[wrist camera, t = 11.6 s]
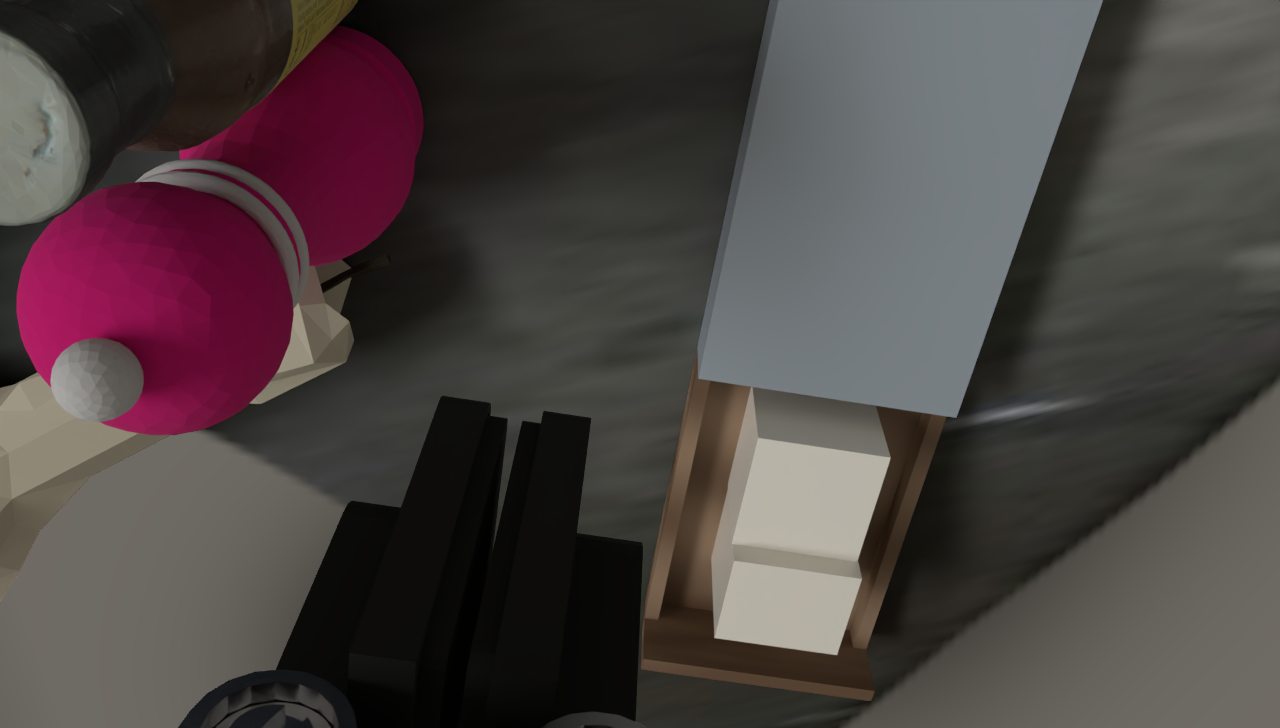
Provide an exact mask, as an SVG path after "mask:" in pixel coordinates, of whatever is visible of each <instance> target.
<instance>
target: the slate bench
mask: <svg viewBox="0 0 1280 728" xmlns="http://www.w3.org/2000/svg"><path fill="white" fill-rule="evenodd" d="M1102 2H1103V0H770V1H769V6H768V11H767V16H766V20H765V25H764V30H763V35H762V40H761V44H760V49H759V54H758V59H757V64H756V68H755V73H754V78H753V83H752V88H751V92H750V97H749V102H748V107H747V112H746V116H745V121H744V126H743V131H742V136H741V140H740V145H739V150H738V155H737V160H736V164H735V169H734V174H733V179H732V184H731V188H730V193H729V198H728V203H727V208H726V212H725V217H724V222H723V227H722V232H721V236H720V241H719V246H718V251H717V255H716V260H715V265H714V270H713V275H712V279H711V284H710V289H709V294H708V299H707V303H706V308H705V313H704V318H703V323H702V327H701V332H700V337H699V342H698V347H697V350H698V379H704V380H710V381H717V382H723V383H730V384H737V385H743V386H750V387H756V388H763V389H770V390H776V391H783V392H789V393H796V394H802V395H809V396H816V397H822V398H829V399H835V400H842V401H849V402H855V403H862V404H868V405H875V406H881V407H888V408H895V409H901V410H908V411H914V412H921V413H928V414H934V415H941V416H947V417H954V418H957V415H958V412H959V409H960V406H961V404H962V401H963V398H964V395H965V392H966V389H967V386H968V384H969V381H970V378H971V375H972V372H973V369H974V366H975V364H976V361H977V358H978V355H979V352H980V349H981V347H982V344H983V341H984V338H985V335H986V332H987V329H988V327H989V324H990V321H991V318H992V315H993V312H994V310H995V307H996V304H997V301H998V298H999V295H1000V292H1001V290H1002V287H1003V284H1004V281H1005V278H1006V275H1007V273H1008V270H1009V267H1010V264H1011V261H1012V258H1013V255H1014V253H1015V250H1016V247H1017V244H1018V241H1019V238H1020V236H1021V233H1022V230H1023V227H1024V224H1025V221H1026V218H1027V216H1028V213H1029V210H1030V207H1031V204H1032V201H1033V199H1034V196H1035V193H1036V190H1037V187H1038V184H1039V181H1040V179H1041V176H1042V173H1043V170H1044V167H1045V164H1046V161H1047V159H1048V156H1049V153H1050V150H1051V147H1052V144H1053V142H1054V139H1055V136H1056V133H1057V130H1058V127H1059V124H1060V122H1061V119H1062V116H1063V113H1064V110H1065V107H1066V105H1067V102H1068V99H1069V96H1070V93H1071V90H1072V87H1073V85H1074V82H1075V79H1076V76H1077V73H1078V70H1079V68H1080V65H1081V62H1082V59H1083V56H1084V53H1085V50H1086V48H1087V45H1088V42H1089V39H1090V36H1091V33H1092V31H1093V28H1094V25H1095V22H1096V19H1097V16H1098V13H1099V11H1100V8H1101V5H1102Z"/></svg>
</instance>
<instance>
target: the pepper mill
mask: <svg viewBox="0 0 1280 728" xmlns="http://www.w3.org/2000/svg"><path fill="white" fill-rule="evenodd" d="M423 127H424V121H423V110H422V104H421V100H420V97H419V93H418V90H417V88H416V85H415V83H414V81H413V79H412V77H411V76H410V74H409V72H408V71H407V70H406V68H405V67H404V66H403V64H402V63H401V62H400V60H399V59H398V58H397V57H396V56H395V55H394V54H393V53H392V52H391V51H390V50H389V49H388V48H386V47H385V46H384V45H383V44H381V43H380V42H378V41H377V40H375V39H373V38H372V37H370V36H368V35H366V34H364V33H362V32H359V31H357V30H354V29H351V28H347V27H343V26H338V25H337V26H336V27H335V28H334V29H333V30H332V31H331V32H330V33H329V34H328V35H327V36H326V37H325V38H324V39H322V40H321V41H320V42H319V43H318V44H317V45H316V46H315V48H314V49H313V50H312V51H311V52H310V53H309V54H308V55H307V56H306V57H305V58H304V59H303V60H302V61H301V62H300V63H299V64H298V65H297V66H296V67H295V68H294V69H293V70H292V71H291V72H290V73H289V74H288V75H287V76H286V77H285V78H284V79H283V80H282V81H281V82H280V83H279V84H278V85H277V86H276V87H275V88H274V89H273V91H272V92H271V93H270V94H268V95H267V96H266V97H265V98H264V99H263V100H262V101H261V102H260V103H259V104H257V105H256V106H254V107H253V108H252V109H250V110H248V111H247V112H246V113H245V114H244V115H243V116H241V117H240V118H239V119H238V120H237V121H236V122H235V123H234V124H233V125H232V126H230V127H228V128H227V129H225V130H224V131H223V132H221V133H220V134H218V135H216V136H214V137H213V138H211V139H209V140H207V141H205V142H204V143H202V144H200V145H198V146H196V147H191V148H189V149H185V150H179V151H180V160H177V161H172V162H167V163H165V164H163V165H160V166H158V167H156V168H154V169H152V170H151V171H149V172H147V173H145V174H144V175H143V176H142V177H140V178H139V179H138V180H137V181H136V182H134V183H128V184H122V185H116V186H112V187H107V188H102V189H100V190H98V191H96V192H94V193H92V194H90V195H88V196H87V197H85V198H83V199H81V200H80V201H78V202H77V203H76V204H75V205H73V206H72V207H71V208H70V209H69V210H68V211H66V212H65V213H63V214H61V215H59V216H57V217H56V218H55V219H54V220H53V221H52V222H51V223H50V224H49V225H48V226H47V228H46V229H45V230H44V232H43V233H42V234H41V235H40V237H39V238H38V239H37V241H36V242H35V243H34V244H33V246H32V248H31V250H30V252H29V255H28V257H27V259H26V261H25V264H24V266H23V268H22V271H21V276H20V281H19V286H18V290H17V317H18V323H19V328H20V333H21V338H22V341H23V344H24V346H25V349H26V351H27V353H28V355H29V357H30V359H31V361H32V362H33V364H34V366H35V368H36V370H37V372H38V373H39V374H40V376H41V377H42V378H43V379H44V381H45V382H46V383H47V384H48V385H49V386H50V387H51V389H52V393H53V395H54V397H55V399H56V401H57V402H58V403H59V405H60V406H61V407H62V408H63V409H64V410H65V411H67V412H68V413H70V414H72V415H73V416H75V417H77V418H79V419H83V420H86V421H96V422H101V423H103V424H105V425H107V426H111V427H114V428H117V429H121V430H124V431H127V432H134V433H140V434H146V435H177V434H182V433H187V432H193V431H198V430H202V429H205V428H207V427H210V426H213V425H215V424H217V423H219V422H222V421H224V420H226V419H228V418H230V417H231V416H233V415H235V414H236V413H238V412H239V411H241V410H243V409H244V408H245V407H246V406H247V405H248V404H249V403H250V402H251V401H252V400H253V399H254V398H255V397H256V396H257V395H258V394H259V393H261V392H262V391H263V390H264V389H265V387H266V386H267V385H268V384H269V382H270V381H271V380H272V378H273V377H274V376H275V374H276V373H277V371H278V370H279V368H280V365H281V363H282V360H283V358H284V356H285V353H286V351H287V348H288V346H289V344H290V339H291V332H292V324H293V316H294V310H293V309H294V308H295V306H296V305H297V304H298V302H299V300H300V299H301V297H302V295H303V292H304V290H305V288H306V285H307V281H308V275H309V266H321V265H325V264H329V263H333V262H336V261H339V260H341V259H343V258H346V257H348V256H350V255H352V254H354V253H356V252H358V251H360V250H362V249H364V248H365V247H366V246H367V245H369V244H370V243H371V242H373V241H374V240H375V239H376V238H378V237H379V236H380V235H381V234H382V232H383V231H384V230H385V229H386V228H387V227H388V226H389V225H390V224H391V222H392V221H393V220H394V219H395V217H396V216H397V215H398V213H399V212H400V211H401V209H402V207H403V205H404V203H405V201H406V199H407V197H408V195H409V192H410V188H411V185H412V182H413V177H414V169H415V157H416V155H417V153H418V150H419V148H420V144H421V141H422V137H423Z"/></svg>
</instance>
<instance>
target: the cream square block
mask: <svg viewBox="0 0 1280 728" xmlns="http://www.w3.org/2000/svg"><path fill="white" fill-rule="evenodd" d="M711 563H712V589H713V615H714V638H718V639H725V640H732V641H739V642H746V643H753V644H760V645H768V646H775V647H782V648H789V649H796V650H803V651H810V652H818V653H825V654H832V655H837V654H838V651H839V647H840V644H841V641H842V638H843V635H844V632H845V629H846V626H847V623H848V620H849V617H850V614H851V611H852V608H853V605H854V602H855V599H856V596H857V593H858V590H859V587H860V584H861V581H862V576H861V572H860V567H859V563H858V561H857V562H853V561H846V560H839V559H832V558H826V557H819V556H812V555H805V554H798V553H791V552H784V551H777V550H770V549H763V548H756V547H749V546H742V545H735V544H732V542H731V526H730V511H729V495H728V490H727V495H726V499H725V503H724V507H723V511H722V515H721V520H720V524H719V528H718V532H717V536H716V540H715V544H714V549H713V553H712V557H711Z"/></svg>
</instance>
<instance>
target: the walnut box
mask: <svg viewBox="0 0 1280 728" xmlns="http://www.w3.org/2000/svg"><path fill="white" fill-rule="evenodd" d="M750 389H751V387H750V386H743V385H737V384H730V383H723V382H717V381H710V380H704V379H698V350H697V351H696V356H695V361H694V366H693V371H692V375H691V380H690V385H689V390H688V395H687V399H686V404H685V409H684V414H683V419H682V423H681V428H680V433H679V438H678V443H677V447H676V452H675V457H674V462H673V467H672V471H671V476H670V481H669V486H668V490H667V495H666V500H665V505H664V510H663V514H662V519H661V524H660V529H659V534H658V538H657V543H656V548H655V553H654V558H653V562H652V567H651V572H650V577H649V582H648V586H647V591H646V596H645V601H644V606H643V631H642V656H641V669H643V670H650V671H657V672H664V673H672V674H679V675H686V676H693V677H700V678H708V679H715V680H722V681H729V682H737V683H744V684H751V685H758V686H766V687H773V688H780V689H787V690H794V691H802V692H809V693H816V694H823V695H831V696H838V697H845V698H852V699H860V700H867V701H871V700H872V697H873V694H874V691H875V690H874V685H873V681H872V676H871V671H870V666H869V661H868V656H867V651H866V648H867V645H868V643H869V640H870V637H871V634H872V631H873V628H874V625H875V622H876V619H877V617H878V614H879V611H880V608H881V605H882V602H883V599H884V596H885V593H886V591H887V588H888V585H889V582H890V579H891V576H892V573H893V570H894V567H895V564H896V562H897V559H898V556H899V553H900V550H901V547H902V544H903V541H904V538H905V536H906V533H907V530H908V527H909V524H910V521H911V518H912V515H913V512H914V510H915V507H916V504H917V501H918V498H919V495H920V492H921V489H922V486H923V484H924V481H925V478H926V475H927V472H928V469H929V466H930V463H931V460H932V458H933V455H934V452H935V449H936V446H937V443H938V440H939V437H940V434H941V431H942V429H943V426H944V423H945V420H946V417H947V416H941V415H934V414H928V413H921V412H914V411H908V410H901V409H895V408H888V407H881V406H876V408H877V412H878V415H879V419H880V422H881V426H882V429H883V433H884V436H885V439H886V443H887V446H888V450H889V453H890V457H891V459H890V462H889V465H888V468H887V471H886V474H885V477H884V480H883V484H882V487H881V490H880V493H879V496H878V499H877V502H876V505H875V508H874V511H873V514H872V518H871V521H870V524H869V527H868V530H867V533H866V536H865V539H864V542H863V545H862V548H861V552H860V555H859V558H858V563H859V567H860V572H861V576H862V581H861V584H860V587H859V590H858V593H857V596H856V599H855V602H854V605H853V608H852V611H851V614H850V617H849V620H848V623H847V626H846V629H845V632H844V635H843V638H842V641H841V644H840V647H839V651H838V654H837V655H832V654H825V653H818V652H810V651H803V650H796V649H789V648H782V647H775V646H768V645H760V644H753V643H746V642H739V641H732V640H725V639H718V638H714V615H713V589H712V563H711V557H712V553H713V549H714V544H715V540H716V536H717V532H718V528H719V524H720V520H721V515H722V511H723V507H724V503H725V499H726V495H727V490H728V481H729V477H730V473H731V468H732V464H733V460H734V456H735V452H736V448H737V443H738V439H739V435H740V431H741V427H742V423H743V418H744V414H745V410H746V406H747V402H748V398H749V393H750Z"/></svg>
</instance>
